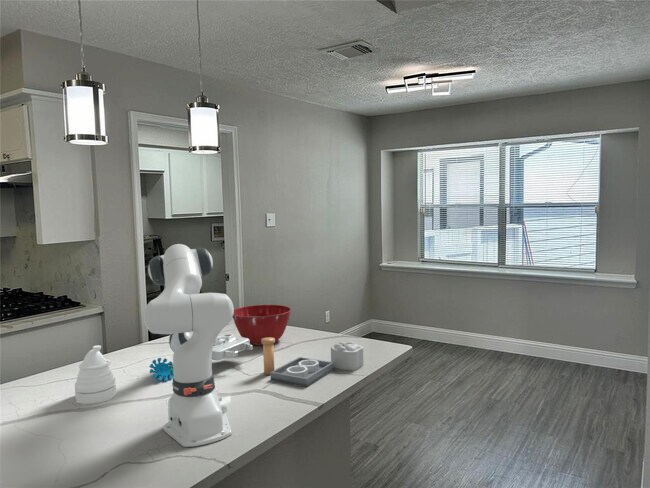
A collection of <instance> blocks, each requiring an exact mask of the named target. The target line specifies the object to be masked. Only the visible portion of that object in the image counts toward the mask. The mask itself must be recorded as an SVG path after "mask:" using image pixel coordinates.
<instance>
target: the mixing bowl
mask: <svg viewBox="0 0 650 488" xmlns="http://www.w3.org/2000/svg"><path fill="white" fill-rule="evenodd" d="M291 312H292V308H291V307H290V306H287V305H283V304H282V305H281V304H254V305H248V306H242V307H238V308H234V314H233V317H232V320H233V322H234V324H235V327H236V329H237V331H238V333H239V335H240V337H244V338H248V339H249V340H250V345H252V346H263V344H262V343H261V339H263V338H267V337H272V338H275V343H276V342H277V341H279V340H280V339H281V338H282V336H283V335H284V333H285V331H286V328H287V325H288V322H289V319H290V315H291Z"/></svg>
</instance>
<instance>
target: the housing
mask: <svg viewBox="0 0 650 488" xmlns="http://www.w3.org/2000/svg"><path fill="white" fill-rule="evenodd" d="M334 371H335V367H334V362H331V361H328V360H321V359H314V358H309V357H303V356H298V357H297V358H295V359H293V360H291V361H289V362H287V363H285V364H284V365H282V366H280V367H278V368H276V369H274V371H272V372H270V375H269V377H270V381H272V382H273V381H274V382H279V383H284V384H289V385H295V386H299V387H304V388H309V387H310V386H312V385H313V384H315V383H316V382H317V381H319V380H321V379H323V378H324V377H325V376H327V375H328V374H330V373H331V372H334Z"/></svg>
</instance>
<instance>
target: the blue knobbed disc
mask: <svg viewBox="0 0 650 488" xmlns="http://www.w3.org/2000/svg"><path fill="white" fill-rule="evenodd" d="M161 361H162V362H161ZM167 361H168V359H167V358H166V357H165V358H163V360H162V358H161V357H158V358H157V360H156V359H153V360H152V361H151V364H150V365H149V368H150V370H149V374H152V378H153V379H156V378H157V381H159V382H161V381H162V379H163V378H164V379H163V381H164V382H168V381H169V380H173V378H174V370H173V361H171V360H170V361H169V362H168V363H167Z"/></svg>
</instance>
